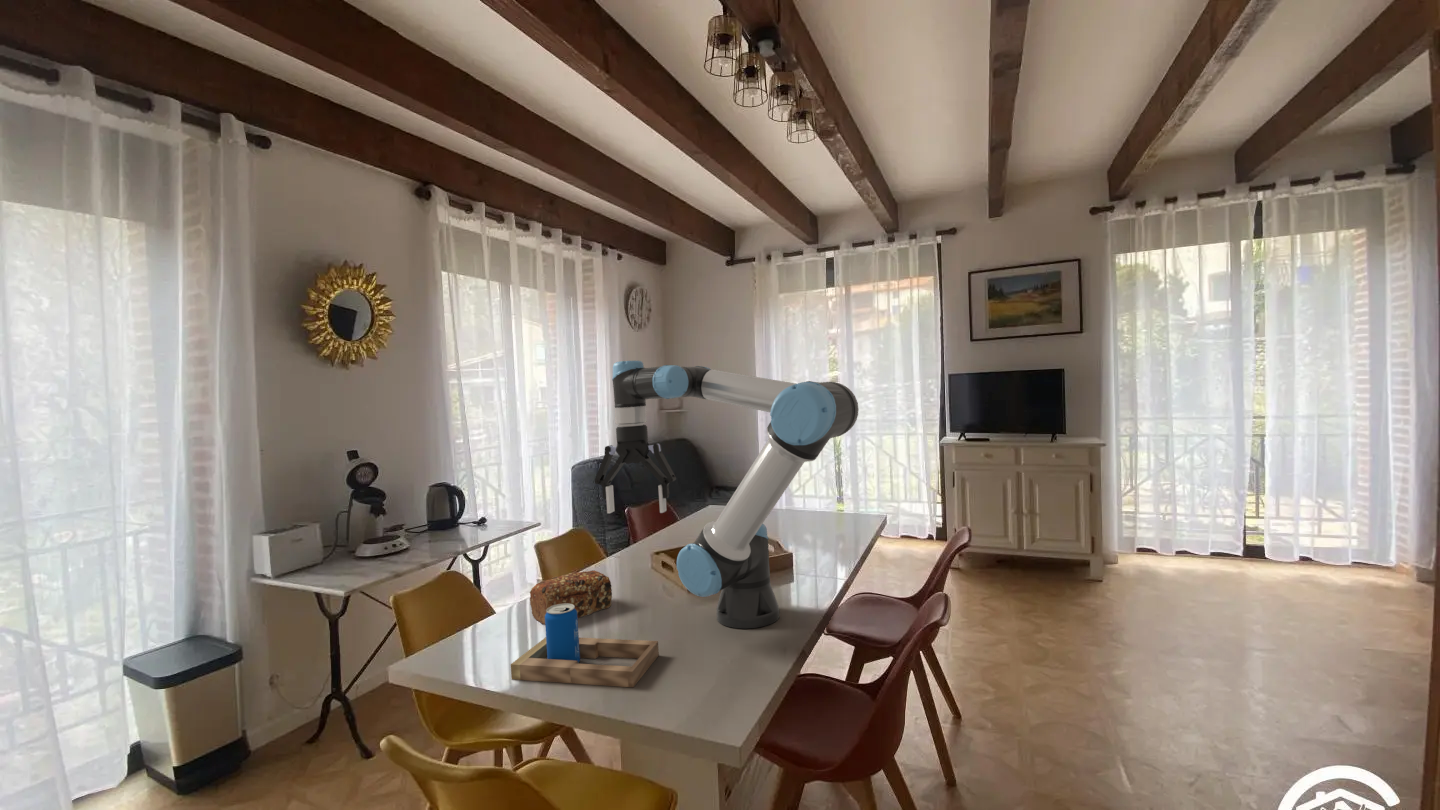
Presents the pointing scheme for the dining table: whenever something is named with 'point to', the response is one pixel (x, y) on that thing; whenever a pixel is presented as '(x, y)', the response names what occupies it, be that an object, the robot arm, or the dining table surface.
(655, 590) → the dining table surface
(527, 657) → the wooden rectangular frame
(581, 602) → the bread
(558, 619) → the beverage can
